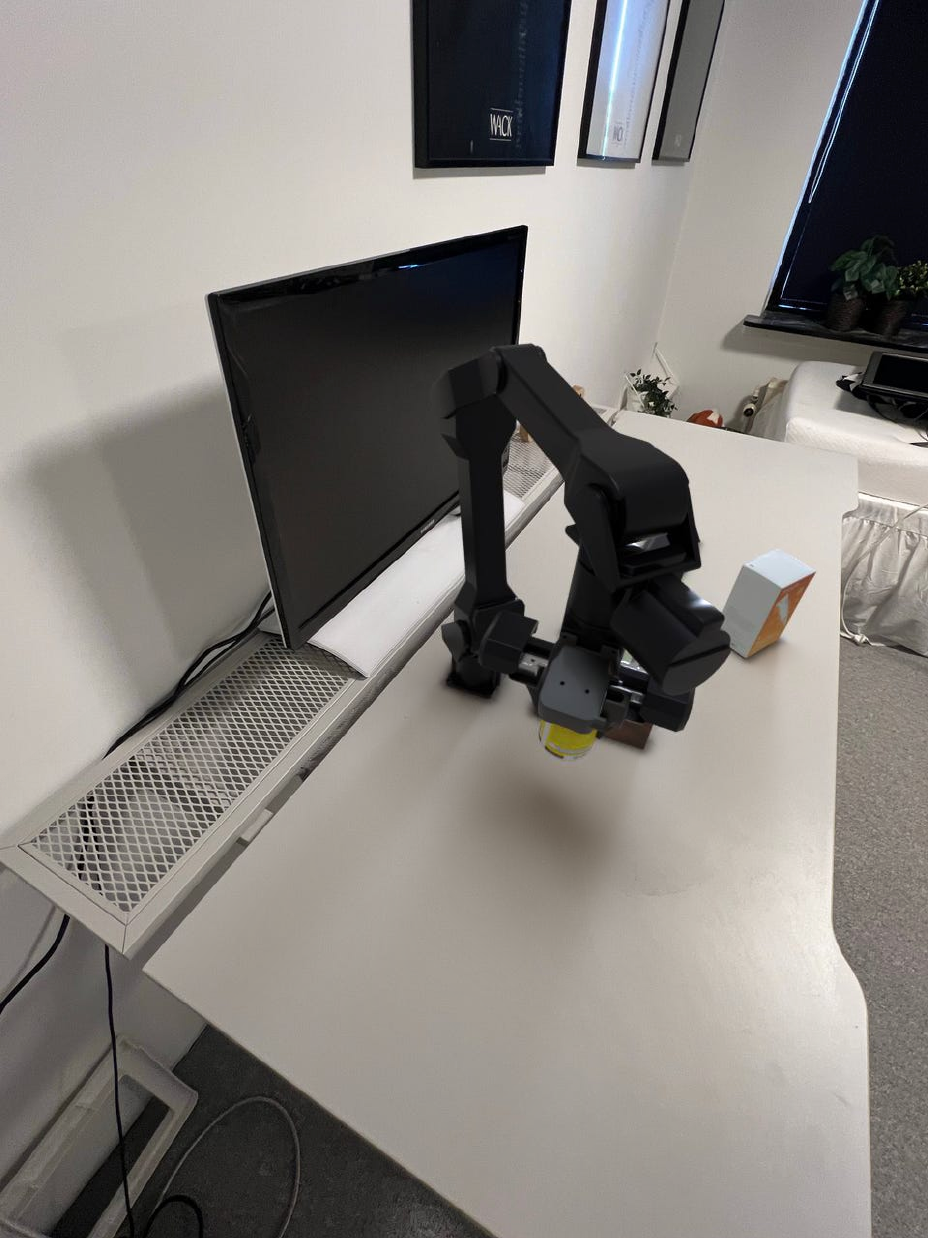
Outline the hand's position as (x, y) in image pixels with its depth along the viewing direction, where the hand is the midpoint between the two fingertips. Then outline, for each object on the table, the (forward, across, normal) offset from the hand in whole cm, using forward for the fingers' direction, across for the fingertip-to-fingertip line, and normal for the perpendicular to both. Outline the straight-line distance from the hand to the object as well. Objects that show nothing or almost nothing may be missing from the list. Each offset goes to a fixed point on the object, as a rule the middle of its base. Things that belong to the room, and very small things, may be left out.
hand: (569, 724), depth 59 cm
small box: (+12, +19, +38) cm, 44 cm away
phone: (+13, +5, +54) cm, 56 cm away
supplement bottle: (+3, 0, 0) cm, 3 cm away
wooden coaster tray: (+12, +2, +19) cm, 23 cm away
